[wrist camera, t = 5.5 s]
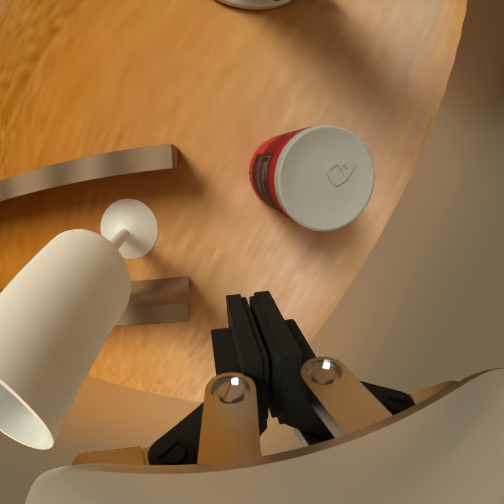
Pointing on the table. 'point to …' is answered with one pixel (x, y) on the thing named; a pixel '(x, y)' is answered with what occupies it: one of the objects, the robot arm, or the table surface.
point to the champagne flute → (65, 318)
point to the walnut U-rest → (104, 165)
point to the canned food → (314, 176)
